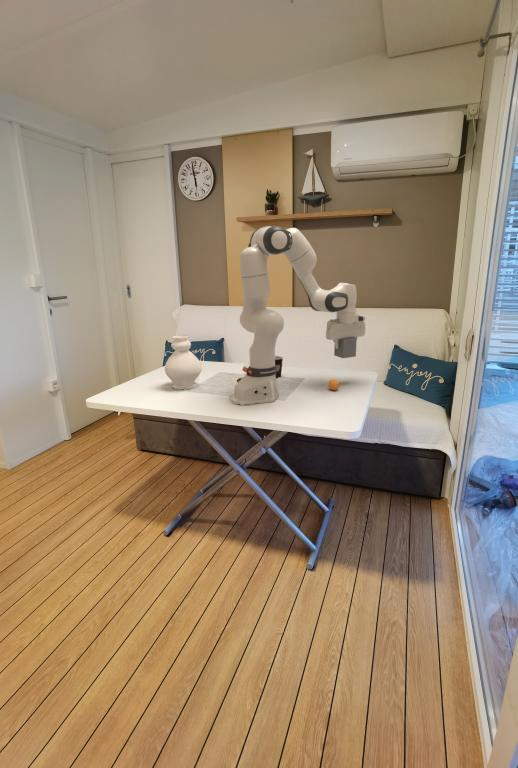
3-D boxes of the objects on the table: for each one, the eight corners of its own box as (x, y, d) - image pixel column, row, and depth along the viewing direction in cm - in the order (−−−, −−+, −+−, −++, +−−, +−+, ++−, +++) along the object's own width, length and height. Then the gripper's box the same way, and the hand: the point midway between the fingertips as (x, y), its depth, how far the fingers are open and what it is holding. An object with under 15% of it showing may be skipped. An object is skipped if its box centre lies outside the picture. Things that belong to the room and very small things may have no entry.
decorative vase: (163, 392, 195) (158, 340, 188) (170, 381, 212) (165, 334, 205) (201, 390, 196) (196, 338, 188) (204, 380, 213) (200, 332, 206)
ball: (332, 392, 186) (332, 381, 184) (326, 389, 190) (326, 379, 189) (341, 390, 188) (341, 379, 186) (335, 387, 192) (335, 377, 191)
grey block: (343, 358, 190) (343, 339, 187) (334, 355, 196) (334, 337, 194) (355, 356, 193) (356, 338, 190) (346, 353, 199) (347, 335, 197)
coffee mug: (283, 374, 219) (283, 355, 216) (282, 378, 210) (282, 359, 208) (261, 374, 220) (261, 356, 217) (260, 378, 212) (259, 359, 209)
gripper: (331, 320, 183) (330, 350, 186) (368, 317, 191) (366, 346, 195) (323, 319, 188) (322, 348, 192) (359, 315, 196) (358, 344, 200)
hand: (345, 347), depth 193 cm, fingers closed on grey block, 7 cm apart
